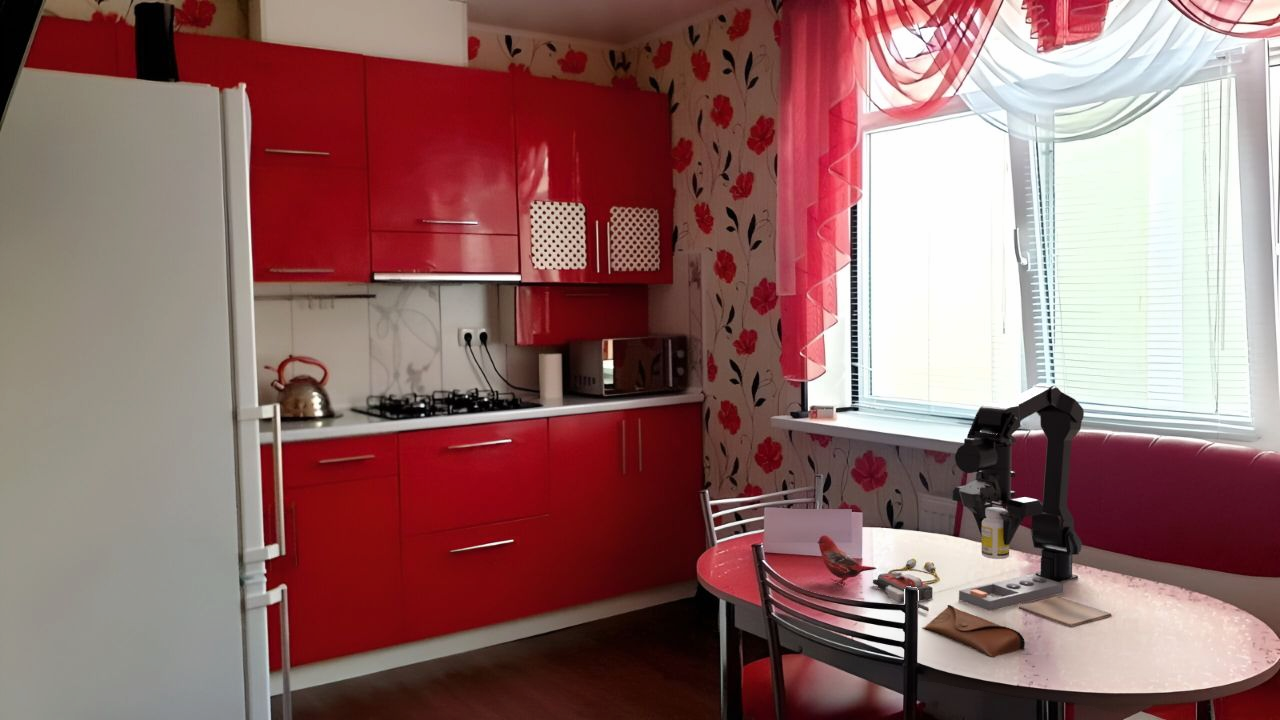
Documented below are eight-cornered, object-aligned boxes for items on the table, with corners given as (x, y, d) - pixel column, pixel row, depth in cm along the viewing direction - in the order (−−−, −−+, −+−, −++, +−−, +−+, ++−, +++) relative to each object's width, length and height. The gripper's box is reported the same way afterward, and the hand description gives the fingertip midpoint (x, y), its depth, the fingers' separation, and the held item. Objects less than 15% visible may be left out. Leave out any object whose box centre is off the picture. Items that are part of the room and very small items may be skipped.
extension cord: (959, 576, 216) (959, 567, 216) (918, 591, 207) (918, 582, 206) (913, 564, 226) (913, 556, 226) (872, 578, 216) (872, 569, 216)
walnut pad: (1058, 598, 198) (1058, 596, 198) (1111, 615, 188) (1111, 613, 188) (1018, 608, 193) (1018, 606, 193) (1070, 626, 182) (1070, 624, 182)
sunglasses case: (917, 627, 183) (930, 595, 184) (939, 639, 186) (952, 607, 187) (993, 658, 167) (1007, 622, 169) (1016, 671, 171) (1030, 636, 172)
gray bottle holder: (1031, 582, 209) (1031, 571, 209) (1063, 593, 202) (1063, 580, 202) (958, 599, 199) (959, 587, 198) (989, 611, 192) (989, 598, 191)
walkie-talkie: (864, 588, 208) (923, 617, 190) (864, 568, 208) (923, 595, 189) (897, 583, 212) (958, 611, 193) (897, 563, 211) (959, 590, 193)
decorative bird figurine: (821, 575, 217) (821, 532, 216) (881, 595, 202) (881, 549, 201) (812, 577, 215) (812, 534, 215) (871, 598, 201) (871, 551, 200)
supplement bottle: (1010, 553, 199) (1010, 507, 198) (1008, 560, 194) (1008, 513, 193) (982, 551, 201) (983, 505, 200) (980, 558, 196) (980, 511, 195)
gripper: (933, 463, 200) (932, 536, 201) (1005, 478, 184) (1004, 558, 185) (971, 458, 205) (970, 529, 207) (1045, 472, 189) (1043, 550, 190)
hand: (995, 541), depth 197 cm, fingers closed on supplement bottle, 5 cm apart
